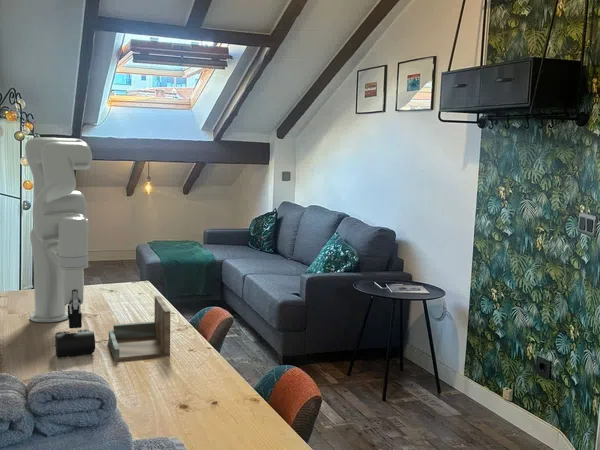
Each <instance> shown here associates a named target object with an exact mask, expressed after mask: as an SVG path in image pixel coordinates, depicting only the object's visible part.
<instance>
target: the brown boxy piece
mask: <svg viewBox="0 0 600 450" xmlns="http://www.w3.org/2000/svg"><path fill="white" fill-rule="evenodd" d="M153 315H154V319H153V320H154V321H143V322H130V323H119V324H118V323H117V324H113V329H109V330H108V343H109V347H110V349H111V354H112V356H113V360H114V362H123V361H124V362H125V361H132V360H140V359H141V360H142V359H143V360H144V359H151V358H152V359H153V358H163V357H164V358H165V357H170V356H171V310H170V308H169V307H168V306H167V305H166V303H165V301H164V300H163V298H162V297H161V296H160V295H154V314H153Z"/></svg>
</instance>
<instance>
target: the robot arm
mask: <svg viewBox="0 0 600 450" xmlns="http://www.w3.org/2000/svg"><path fill="white" fill-rule="evenodd" d="M24 146H25V147H24V151H25V152H24V153H25V157H26V162H27V164H28V166H29V169H30V172H31V174H32V179H33V204H32V211H31V212H32V220H33V228H32V229H31V231H30V235H29V236H30V237H29V239H30V244H31V250H32V256H33V257H32V259H33V278H34V279H33V283H34V286H33V287H34V289H33V290H34V292H33V293H34V311H33V312H32V313H31V314H30V315H29V319H30V320H31V321H32V322H35V323H56V322H61V321H65V320H68V327H69V329H70V330H71V329H80V328H82V325H83V323H82V321H83V320H82V319H83V318H82V316H83V315H82V311H81V305H83V303H84V292H85V291H84V289H85V288H84V287H85V283H84V281H85V275H84V274H85V271H84V269H87V268H89V237H88V236H89V235H88V234H89V231H90V223H89V219H88V217H87V213H88V211H87V202H86V198H85V195H84V194H83V193H82V192H81V191H78V190H76V188H77V181H76V175H75V171H76V170H81V171H84V170H85V171H86V170H89V169H90V168H91V167H92V163H93V153H92V150H91V147H90V145H89V144H88V143H87V142H86V141H84V140H82V139H81V138H69V137H68V138H67V137H47V136H46V137H43V136H42V137H33V138H30V139H28V140H27V141H26V142H25V145H24ZM57 254H58V255H57ZM66 306H67V307H66Z"/></svg>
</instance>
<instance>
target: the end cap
mask: <svg viewBox="0 0 600 450" xmlns="http://www.w3.org/2000/svg"><path fill="white" fill-rule="evenodd" d="M54 339H55V341H54V342H55V345H54V347H55V357H56V358H57V359H65V358H72V357H74V358H75V357H81V356H87V355H89V356H90V355H92V354H93V353H94V352H95V351H96V338H95V333H94V330H89V329H88V328H87V329H86V328H84V329H78V330H77V332H71V333H70V332H68V331H59V332H58V331H57V332H56V333H55V336H54Z"/></svg>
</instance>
